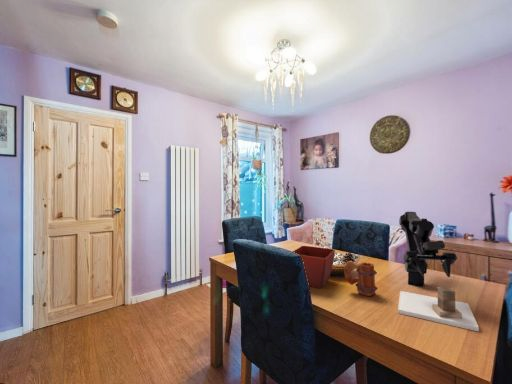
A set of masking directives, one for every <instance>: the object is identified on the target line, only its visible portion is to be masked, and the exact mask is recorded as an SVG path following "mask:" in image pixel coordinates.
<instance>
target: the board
mask: <svg viewBox="0 0 512 384" xmlns="http://www.w3.org/2000/svg"><path fill="white" fill-rule="evenodd" d="M399 292H400V293H399V298H398V299H399V300H398V308H397V314H400V315H404V316H405V315H406V316H409V317H413V318H417V319H422V320H427V321H430V322H434V323H435V322H436V323H439V324H443V325H449V326H453V327H458V328H462V329H467V330H471V331H474V332H475V331H476V332H479V331H480V326H479V325H478V322H477V320H476V318H475V315H474V314H473V312H472V310H471V307H470V305H469V303H467V302H463V301H457V300H455V308H456V309H457V310H458V311H459V312H461V313H462V319H457V318H445V317H439V316H438V315H437V313H436V312H435V311H434V310H433V309H432V304H437V305H438V297H435V296H429V295H425V294H418V293H414V292H407V291H403V290H399Z"/></svg>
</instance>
